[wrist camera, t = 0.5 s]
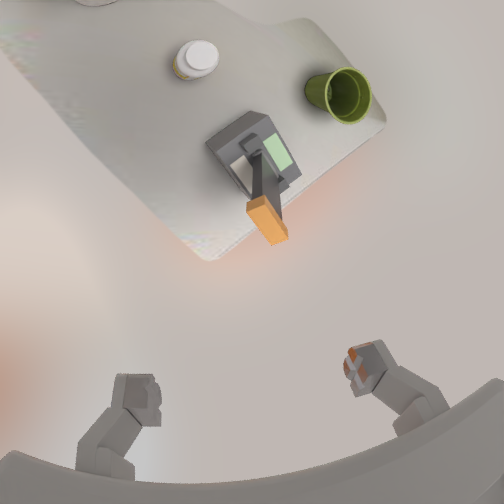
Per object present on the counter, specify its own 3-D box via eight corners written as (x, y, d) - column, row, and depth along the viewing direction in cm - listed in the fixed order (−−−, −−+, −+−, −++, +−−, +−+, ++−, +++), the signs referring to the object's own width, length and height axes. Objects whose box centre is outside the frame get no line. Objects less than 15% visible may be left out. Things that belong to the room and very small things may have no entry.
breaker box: (242, 191, 59) (262, 213, 50) (205, 142, 50) (219, 155, 41) (281, 162, 58) (308, 178, 49) (250, 110, 49) (274, 116, 40)
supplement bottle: (210, 51, 40) (230, 39, 30) (203, 82, 43) (220, 79, 33) (176, 46, 37) (184, 32, 27) (168, 78, 40) (174, 73, 30)
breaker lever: (268, 179, 49) (271, 245, 38) (249, 151, 45) (246, 212, 34) (280, 174, 48) (288, 239, 37) (262, 144, 44) (264, 204, 33)
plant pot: (284, 91, 49) (313, 94, 40) (316, 57, 46) (349, 55, 37) (318, 126, 56) (349, 136, 47) (347, 92, 53) (380, 98, 44)
